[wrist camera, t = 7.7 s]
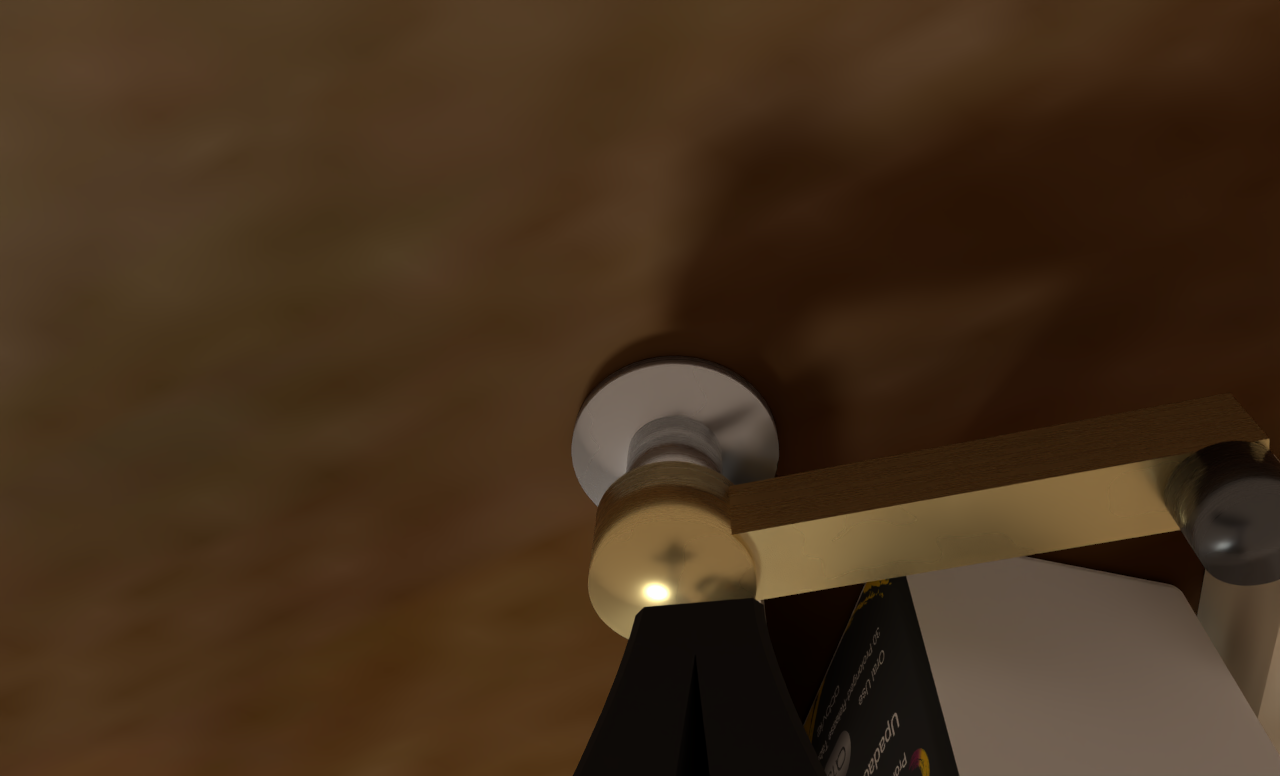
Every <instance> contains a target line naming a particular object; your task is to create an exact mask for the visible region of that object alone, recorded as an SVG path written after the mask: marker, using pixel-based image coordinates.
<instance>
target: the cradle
mask: <svg viewBox="0 0 1280 776" xmlns="http://www.w3.org/2000/svg"><path fill="white" fill-rule="evenodd" d="M1274 456H1275V455H1274ZM1275 457H1276V456H1275ZM1276 458H1277V457H1276ZM1277 459H1278V458H1277ZM1278 461H1279V459H1278ZM1279 462H1280V461H1279ZM758 601H759V602H760V603H761V604H763V605H764V610H765V604H764V600H758ZM765 618H766V613H765ZM1197 618H1198V620H1199V621H1200V623H1201V625H1202V626H1203V628H1204V630H1205V631H1206V633H1207V635H1208V636H1209V638H1210V640H1211V641H1212V643H1213V645H1214V646H1215V648H1216V650H1217V651H1218V653H1219V655H1220V656H1221V658H1222V660H1223V661H1224V663H1225V665H1226V667H1227V668H1228V670H1229V672H1230V673H1231V675H1232V677H1233V678H1234V680H1235V682H1236V683H1237V685H1238V687H1239V688H1240V690H1241V692H1242V693H1243V695H1244V697H1245V698H1246V700H1247V702H1248V703H1249V705H1250V707H1251V709H1252V710H1253V712H1254V714H1255V715H1256V717H1257V719H1258V720H1259V722H1260V724H1261V725H1262V727H1263V729H1264V730H1265V732H1266V734H1267V735H1268V737H1269V739H1270V740H1271V742H1272V744H1273V745H1274V747H1275V749H1276V750H1277V752H1278V754H1279V756H1280V580H1277V581H1274V582H1270V583H1266V584H1261V585H1253V586H1241V585H1233V584H1229V583H1225V582H1222V581H1220V580H1218V579H1216V578H1215V577H1213V576H1212V575H1211V574H1210V573H1209V572H1208V571H1207V570H1206V569H1205V574H1204V579H1203V585H1202V591H1201V596H1200V602H1199V608H1198V613H1197ZM766 623H767V621H766Z"/></svg>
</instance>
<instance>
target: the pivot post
mask: <svg viewBox="0 0 1280 776" xmlns="http://www.w3.org/2000/svg"><path fill="white" fill-rule="evenodd" d="M572 460H573V466H574V470H575V473H576V476H577V478H578V480H579V482H580V484H581V486H582V488H583V489H584V491H585V492H586V494H587V495H588V497H589V498H590V499H591V500H592V501H593V502H594V503H595V505H597V506H598V505H599V503H600V500H601V498H602V497H603V495H604V493H605V492H606V490H607V489H608V488H609V487H610V486H611V484H613V483H614V482H615V481H616V480H617V479H618V478H620V477H621V476H622V475H624V474H625V473H627V472H629V471H631V470H633V469H635V468H638V467H640V466H643V465H647V464H651V463H655V462H663V461H681V462H689V463H694V464H698V465H701V466H705V467H707V468H710V469H712V470H714V471H716V472H718V473H720V474H721V475H723V476H724V477H726V478H727V479H728V480H730V481H731V482H732V483H733V484H734V485H738V484H743V483H749V482H754V481H759V480H765V479H770V478H774V477H775V473H776V470H777V467H778V460H779V443H778V435H777V429H776V424H775V421H774V418H773V415H772V412H771V410H770V408H769V407H768V405H767V403H766V401H765V400H764V398H763V397H762V396H761V394H760V393H759V392H758V391H757V390H756V389H755V388H754V387H753V386H752V385H751V384H750V383H749V382H748V381H747V380H745V379H744V378H743V377H741V376H740V375H738V374H737V373H735V372H733V371H732V370H730V369H728V368H726V367H724V366H721V365H719V364H717V363H714V362H710V361H707V360H703V359H698V358H693V357H683V356H666V357H656V358H651V359H646V360H642V361H639V362H635V363H633V364H630V365H628V366H626V367H623V368H621V369H619V370H618V371H616V372H614V373H613V374H611V375H609V376H608V377H607V378H606V379H604V380H603V381H602V382H600V383H599V384H598V385H597V386H596V387H595V389H594V390H593V391H592V392H591V393H590V394H589V396H588V397H587V398H586V400H585V401H584V403H583V405H582V407H581V409H580V411H579V413H578V416H577V419H576V422H575V428H574V434H573V440H572Z"/></svg>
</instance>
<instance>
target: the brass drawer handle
mask: <svg viewBox="0 0 1280 776" xmlns="http://www.w3.org/2000/svg"><path fill="white" fill-rule="evenodd" d="M1269 442H1270V438H1269V437H1268V436H1267V435H1266V434H1265V433H1264V431H1263V430H1262V429H1261V428H1260V427H1259V426H1258V424H1257V423H1256V422H1255V421H1254V420H1253V419H1252V417H1251V416H1250V415H1249V414H1248V413H1247V412H1246V410H1245V409H1244V408H1243V407H1242V406H1241V405H1240V404H1239V402H1238V401H1237V400H1236V399H1235V398H1234V397H1233V395H1232V394H1231V393H1230V392H1229V393H1224V394H1219V395H1213V396H1208V397H1203V398H1197V399H1192V400H1187V401H1181V402H1176V403H1171V404H1165V405H1160V406H1155V407H1149V408H1144V409H1139V410H1133V411H1128V412H1123V413H1117V414H1112V415H1107V416H1101V417H1096V418H1091V419H1085V420H1080V421H1075V422H1069V423H1064V424H1058V425H1053V426H1048V427H1042V428H1037V429H1032V430H1026V431H1021V432H1016V433H1010V434H1005V435H1000V436H994V437H989V438H984V439H978V440H973V441H968V442H962V443H957V444H952V445H946V446H941V447H936V448H930V449H925V450H920V451H914V452H909V453H904V454H898V455H893V456H888V457H882V458H877V459H871V460H866V461H861V462H855V463H850V464H845V465H839V466H834V467H829V468H823V469H818V470H813V471H807V472H802V473H797V474H791V475H786V476H781V477H775V478H770V479H765V480H759V481H754V482H749V483H743V484H738V485H734V484H733V483H732V482H731V481H730V480H728V479H727V478H726V477H724V476H723V475H721V474H720V473H718V472H716V471H714V470H712V469H710V468H707V467H705V466H701V465H698V464H694V463H689V462H681V461H663V462H655V463H651V464H647V465H643V466H640V467H638V468H635V469H633V470H631V471H629V472H627V473H625V474H624V475H622V476H621V477H620V478H618V479H617V480H616V481H615V482H614V483H613V484H611V486H610V487H609V488H608V489H607V490H606V492H605V493H604V495H603V497H602V498H601V500H600V503H599V505H598V509H597V513H596V521H595V529H594V537H593V545H592V553H591V561H590V569H589V577H588V591H589V596H590V600H591V603H592V605H593V607H594V609H595V611H596V612H597V614H598V615H599V617H600V618H601V619H602V620H603V621H604V622H605V623H606V624H607V625H608V626H609V627H610V628H611V629H612V630H614V631H615V632H617V633H618V634H620V635H621V636H623V637H625V638H627V639H629V637H630V634H631V630H632V627H633V623H634V619H635V616H636V614H637V613H638V612H639V611H640V610H641V609H642V608H643V607H649V606H661V605H673V604H684V603H696V602H708V601H720V600H732V599H744V598H754V599H756V600H757V601H758V600H764V599H770V598H776V597H782V596H788V595H794V594H799V593H805V592H811V591H817V590H823V589H829V588H835V587H841V586H847V585H853V584H859V583H865V582H871V581H877V580H883V579H889V578H895V577H901V576H907V575H913V574H919V573H925V572H931V571H937V570H943V569H949V568H955V567H961V566H967V565H973V564H979V563H985V562H991V561H997V560H1003V559H1009V558H1015V557H1021V556H1027V555H1033V554H1039V553H1045V552H1051V551H1057V550H1063V549H1069V548H1075V547H1081V546H1087V545H1093V544H1099V543H1105V542H1111V541H1117V540H1123V539H1129V538H1135V537H1141V536H1147V535H1153V534H1159V533H1165V532H1171V531H1177V530H1181V532H1182V533H1183V535H1184V536H1185V538H1186V539H1187V541H1188V542H1189V544H1190V546H1191V547H1192V549H1193V550H1194V552H1195V553H1196V555H1197V556H1198V558H1199V560H1200V561H1201V563H1202V564H1203V566H1204V567H1205V569H1206V570H1207V571H1208V572H1209V573H1210V574H1211V575H1212V576H1213V577H1215V578H1216V579H1218V580H1220V581H1222V582H1225V583H1229V584H1233V585H1241V586H1253V585H1261V584H1266V583H1270V582H1274V581H1277V580H1280V462H1279V461H1278V459H1277V458H1276V457H1275V456H1274V455H1273V454H1272V453H1271V452H1270V451H1269Z"/></svg>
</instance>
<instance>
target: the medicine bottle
mask: <svg viewBox="0 0 1280 776" xmlns="http://www.w3.org/2000/svg"><path fill="white" fill-rule="evenodd" d="M803 726H804V729H805V731H806V733H807V735H808V737H809V739H810V741H811V743H812V746H813V748H814V750H815V752H816V754H817V756H818V758H819V760H820V763H821V765H822V767H823V769H824V771H825V773H826V774H827V776H1280V756H1279V754H1278V752H1277V750H1276V749H1275V747H1274V745H1273V744H1272V742H1271V740H1270V739H1269V737H1268V735H1267V734H1266V732H1265V730H1264V729H1263V727H1262V725H1261V724H1260V722H1259V720H1258V719H1257V717H1256V715H1255V714H1254V712H1253V710H1252V709H1251V707H1250V705H1249V703H1248V702H1247V700H1246V698H1245V697H1244V695H1243V693H1242V692H1241V690H1240V688H1239V687H1238V685H1237V683H1236V682H1235V680H1234V678H1233V677H1232V675H1231V673H1230V672H1229V670H1228V668H1227V667H1226V665H1225V663H1224V661H1223V660H1222V658H1221V656H1220V655H1219V653H1218V651H1217V650H1216V648H1215V646H1214V645H1213V643H1212V641H1211V640H1210V638H1209V636H1208V635H1207V633H1206V631H1205V630H1204V628H1203V626H1202V625H1201V623H1200V621H1199V620H1198V618H1197V616H1196V614H1195V613H1194V611H1193V609H1192V608H1191V606H1190V604H1189V603H1188V601H1187V599H1186V598H1185V596H1184V594H1183V593H1182V591H1181V590H1179V589H1178V588H1177V587H1175V586H1173V585H1171V584H1166V583H1160V582H1155V581H1150V580H1145V579H1140V578H1135V577H1129V576H1124V575H1119V574H1114V573H1109V572H1103V571H1098V570H1093V569H1088V568H1083V567H1078V566H1072V565H1067V564H1062V563H1057V562H1052V561H1046V560H1041V559H1036V558H1031V557H1026V556H1021V557H1015V558H1009V559H1003V560H997V561H991V562H985V563H979V564H973V565H967V566H961V567H955V568H949V569H943V570H937V571H931V572H925V573H919V574H913V575H907V576H901V577H895V578H889V579H883V580H877V581H871V582H865V584H864V587H863V589H862V591H861V594H860V596H859V598H858V600H857V603H856V605H855V607H854V610H853V612H852V614H851V617H850V619H849V621H848V623H847V626H846V628H845V630H844V633H843V635H842V637H841V639H840V642H839V644H838V646H837V649H836V651H835V653H834V655H833V658H832V660H831V662H830V665H829V667H828V669H827V672H826V674H825V676H824V678H823V681H822V683H821V685H820V688H819V690H818V692H817V694H816V697H815V699H814V701H813V704H812V706H811V708H810V710H809V713H808V715H807V717H806V720H805V722H804V724H803Z"/></svg>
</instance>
